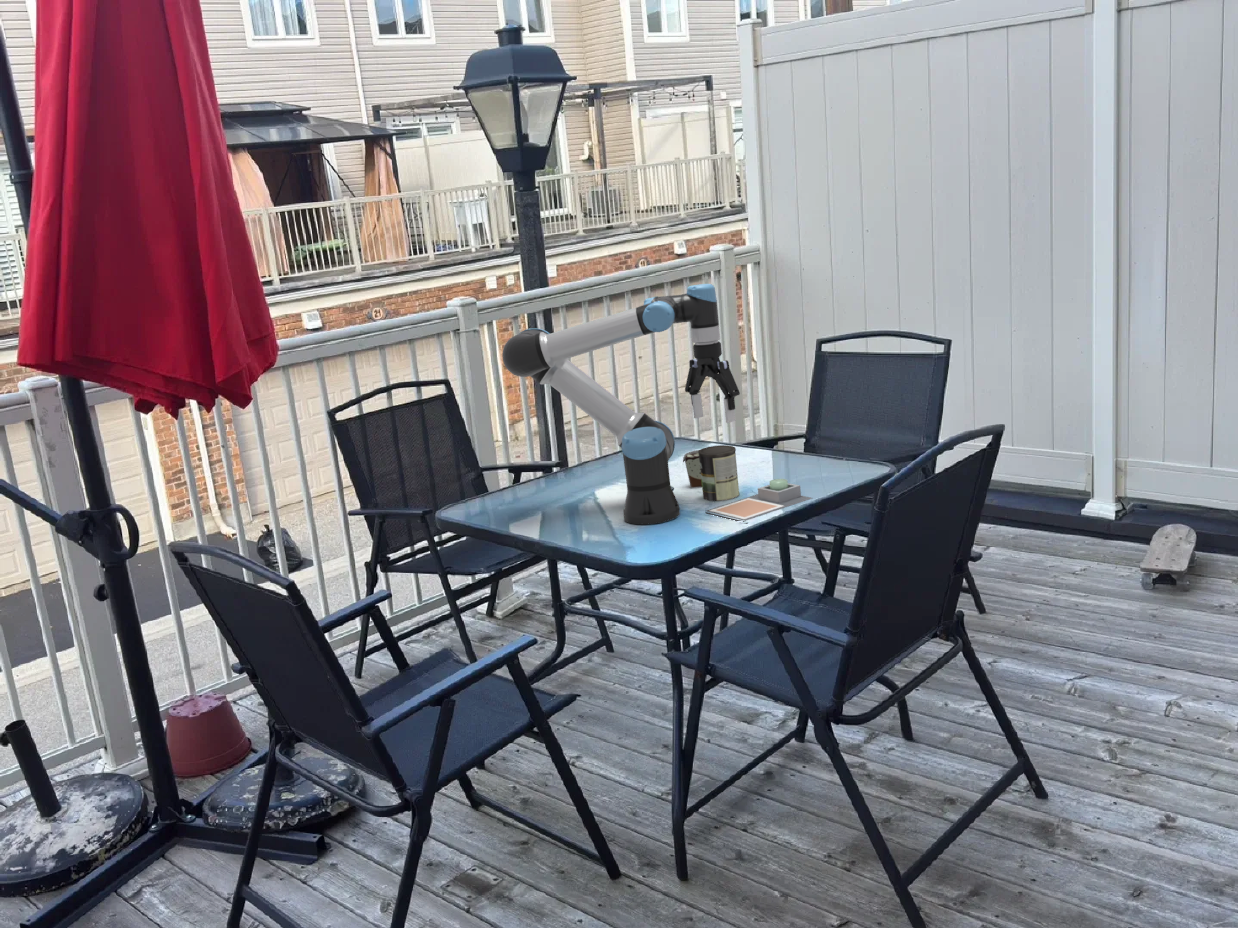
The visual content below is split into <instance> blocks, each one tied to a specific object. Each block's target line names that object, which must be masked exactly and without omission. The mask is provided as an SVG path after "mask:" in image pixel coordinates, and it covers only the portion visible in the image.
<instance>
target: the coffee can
mask: <svg viewBox="0 0 1238 928" xmlns="http://www.w3.org/2000/svg"><path fill="white" fill-rule="evenodd" d="M698 450H699V451H698V454H699V461H700V470H701V480H702V487H701V488H702V498H703V499H704V500H705V501H709V502H724V501H729V500H733V499H736V498H738V497H739V496H740V488H739V478H738V477H739V476H738V466H737V457H736V450H737V449H736V447H735V446H733V445H726V444H725V445H723V444H722V445H712V446H706V447H703V448H701V449H698Z"/></svg>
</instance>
